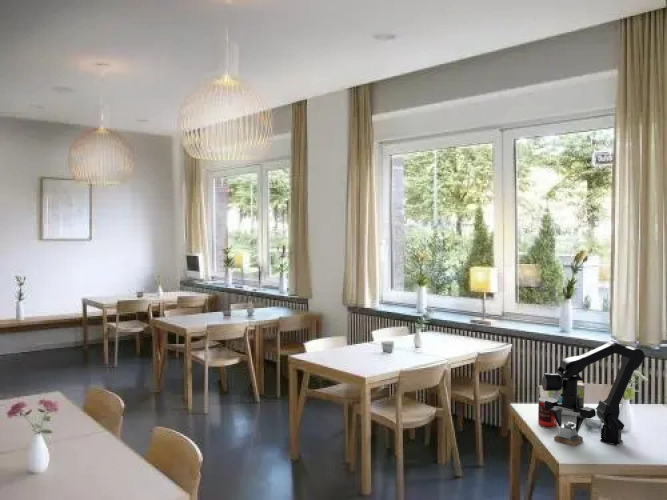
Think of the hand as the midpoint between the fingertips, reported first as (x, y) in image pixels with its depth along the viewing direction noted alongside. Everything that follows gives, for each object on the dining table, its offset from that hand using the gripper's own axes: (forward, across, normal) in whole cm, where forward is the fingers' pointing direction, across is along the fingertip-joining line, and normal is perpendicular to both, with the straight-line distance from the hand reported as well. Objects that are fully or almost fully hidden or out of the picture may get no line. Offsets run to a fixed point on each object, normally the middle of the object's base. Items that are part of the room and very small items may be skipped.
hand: (568, 429), depth 228 cm
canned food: (+5, +15, -12) cm, 19 cm away
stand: (+4, 0, 0) cm, 4 cm away
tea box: (+5, +17, -34) cm, 38 cm away
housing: (+2, 0, 0) cm, 2 cm away
